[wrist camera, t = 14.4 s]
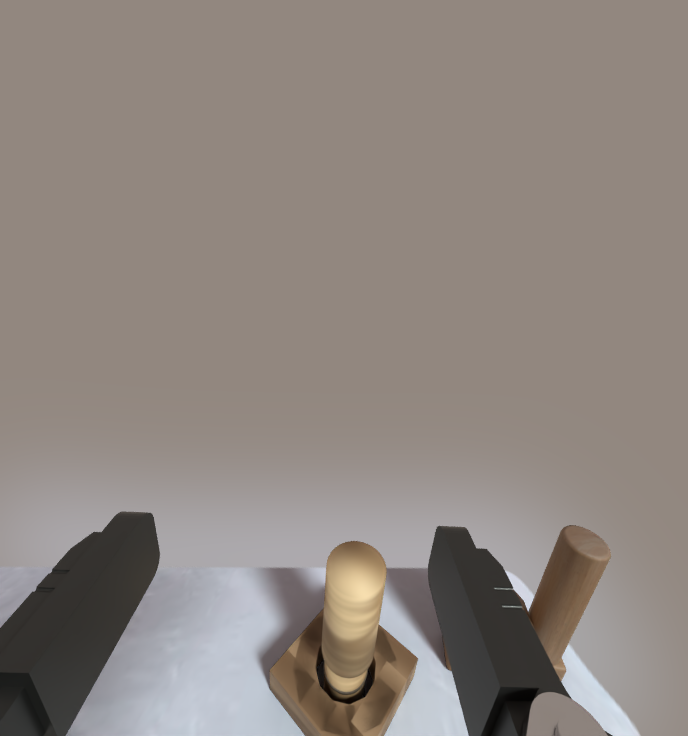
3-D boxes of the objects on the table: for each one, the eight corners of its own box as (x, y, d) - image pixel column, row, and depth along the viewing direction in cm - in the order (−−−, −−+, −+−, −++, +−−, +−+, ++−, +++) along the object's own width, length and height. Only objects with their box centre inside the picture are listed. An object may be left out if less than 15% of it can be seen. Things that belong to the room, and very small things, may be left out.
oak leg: (347, 732, 29) (363, 611, 23) (308, 687, 31) (314, 568, 26) (377, 681, 32) (397, 564, 26) (340, 644, 35) (351, 531, 29)
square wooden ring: (352, 797, 25) (355, 778, 24) (269, 689, 31) (269, 670, 30) (413, 676, 33) (417, 658, 32) (337, 607, 38) (339, 590, 37)
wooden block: (441, 632, 37) (474, 507, 30) (541, 651, 36) (597, 526, 29) (446, 672, 33) (485, 541, 27) (557, 694, 32) (625, 563, 26)
